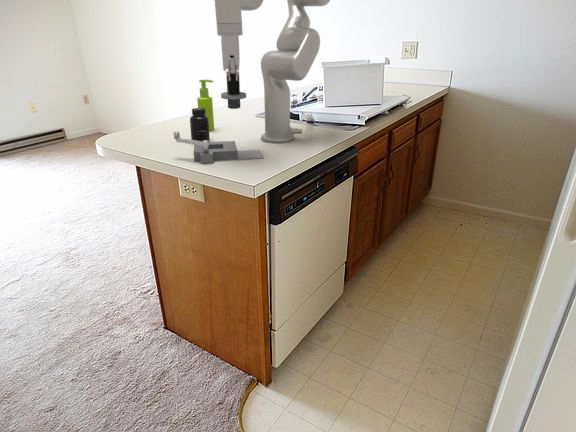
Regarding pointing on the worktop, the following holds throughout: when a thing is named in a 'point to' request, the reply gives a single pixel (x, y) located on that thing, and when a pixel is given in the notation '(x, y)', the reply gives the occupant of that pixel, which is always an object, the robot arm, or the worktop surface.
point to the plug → (233, 95)
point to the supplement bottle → (199, 125)
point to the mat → (249, 154)
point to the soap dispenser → (206, 103)
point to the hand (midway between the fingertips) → (234, 92)
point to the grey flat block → (216, 152)
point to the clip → (192, 142)
